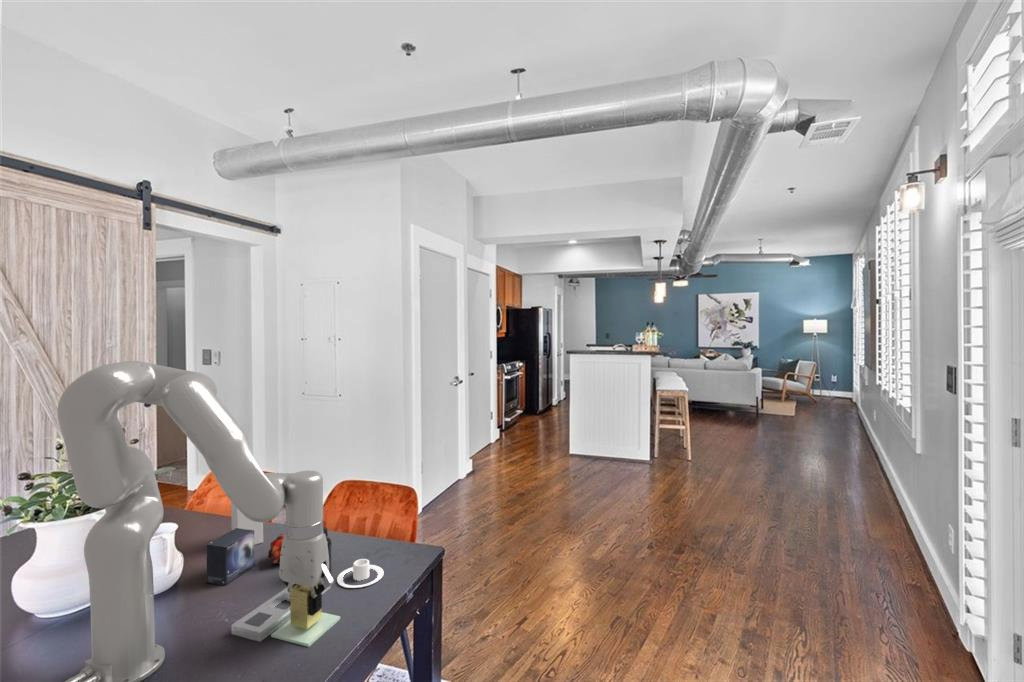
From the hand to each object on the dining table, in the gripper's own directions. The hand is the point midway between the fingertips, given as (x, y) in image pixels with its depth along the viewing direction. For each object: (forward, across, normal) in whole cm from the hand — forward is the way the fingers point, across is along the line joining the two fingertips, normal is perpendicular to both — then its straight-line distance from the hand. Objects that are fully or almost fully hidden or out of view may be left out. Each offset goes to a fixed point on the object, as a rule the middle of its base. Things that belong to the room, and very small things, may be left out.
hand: (306, 608), depth 106 cm
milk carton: (+5, -48, +28) cm, 56 cm away
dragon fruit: (+5, -28, +23) cm, 37 cm away
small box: (+5, -36, +12) cm, 38 cm away
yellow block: (+3, 0, 0) cm, 3 cm away
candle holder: (+5, -2, +22) cm, 23 cm away
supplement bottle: (+5, -14, +20) cm, 25 cm away
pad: (+4, 0, 0) cm, 4 cm away
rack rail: (+4, -10, +4) cm, 12 cm away
